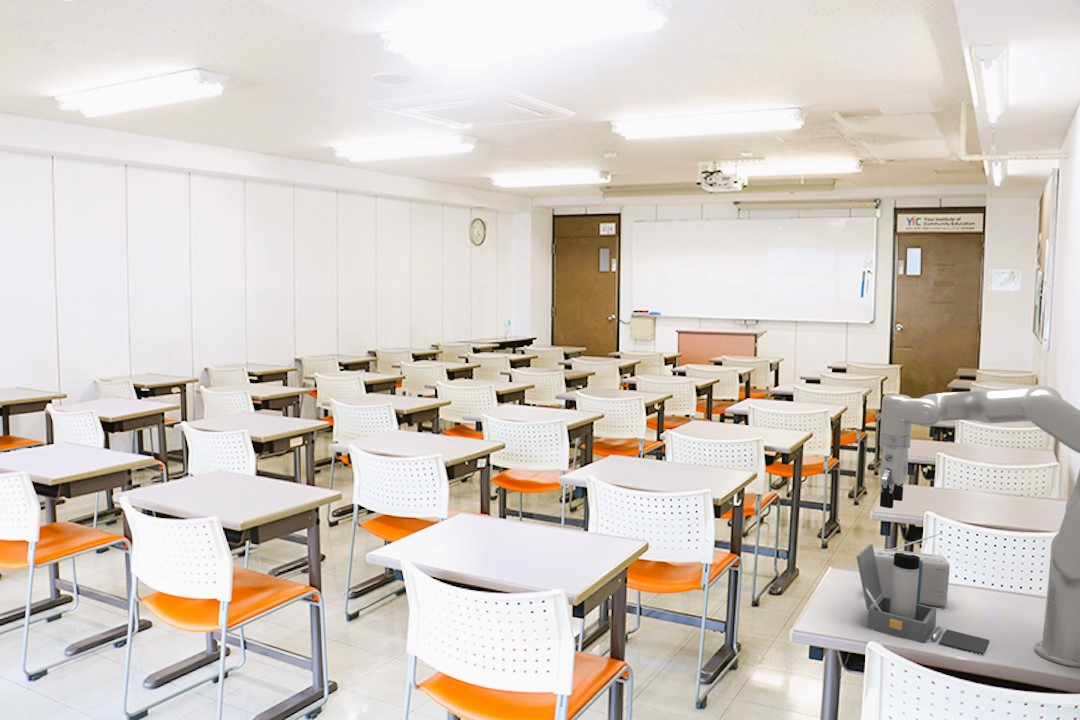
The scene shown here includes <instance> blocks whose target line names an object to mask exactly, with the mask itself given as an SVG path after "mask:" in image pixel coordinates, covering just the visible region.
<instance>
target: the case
mask: <svg viewBox="0 0 1080 720" xmlns="http://www.w3.org/2000/svg"><path fill="white" fill-rule="evenodd" d="M873 548H874V545H873V544H872V543H871V544H868V545H867V546H865V548H864V549H862V550H861V552H859V553H858V554H857V555H856V556H855V557H856V562H857V567H858V571H859V572H858V573H859V576H860V580H861V581H860V582H861V586H862V592H863V596H864V601H865V607H866V610H867V625H866V629H868V628H869V629H868V630H872V629H873V631H877V632H880V633H885V634H888V635H892V636H896V637H901V638H903V639H907V640H911V641H916V642H920V643H924V644H925V643H926V642H927V640H928V639H929V637H930V635H931V634H932V632H933V630H934V629H935V628H936V621H937V607H932V606H930V605H928V606H927V605H925V604H919V603H916V614H915V620H914V619H910V618H906V617H902V616H898V615H894V614H890V613H889V612H890V599H891V598H890V597H886V596H883V593H882V589H881V584H880V579H879V574H878V569H877V564H876V559H875V554H874V550H873Z"/></svg>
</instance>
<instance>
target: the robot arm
mask: <svg viewBox="0 0 1080 720" xmlns="http://www.w3.org/2000/svg"><path fill="white" fill-rule="evenodd" d="M880 417H881V418H880V429H879V430H880V432H879V446H880V447H882V452H881V453H882V454H881V460H880V461H881V462H880V472H879V474H880V476H879V477H880V483H881V485H880V497H879V507H881V508H887V509H893V508H894V501H897V502H902V501H903V498H904V497H903V496H904V483H906V481H908V478H909V477H908V475H909V474H908V470H909V468H908V467H909V451H908V449H911V438H912V435H911V434H912V425H916V426H920V427H928V428H929V427H932V426H936V425H937V424H939V423H940V422H945V421H946V422H947V421H948V422H949V421H975V422H976V421H977V422H980V423H983V424H1005V423H1017V422H1018V423H1021V422H1025V423H1026V422H1030V423H1032V424H1033V425H1035V426H1037V427H1038V428H1039V429H1040V430H1042V431H1043V432H1045V433H1047V434H1048V435H1049V436H1051V437H1052V438H1054V439H1055V440H1057V441H1058V442H1059V443H1061V444H1063V446H1064V445H1065V447H1068V448H1069V450H1070V449H1071V450H1072V451H1074V452H1076V453H1077V454H1080V409H1078V408H1077V407H1075V406H1074V405H1072V404H1071V403H1069V402H1068V401H1066V400H1065V399H1064V398H1062V396H1061V394H1060V392H1058V390H1056V389H1055V388H1053V387H1050V386H1049V385H1036V386H1035V385H1033V386H1022V387H1011V388H997V389H982V390H981V389H979V390H971V391H954V392H942V393H941V392H939V393H930V394H929V393H928V394H925V395H922V396H921V397H918V398H915V397H913V398H912V397H911V396H909V395H907V394H900V393H899V394H898V393H896V394H895V393H889V394H885V395H883V397H882V400H881V416H880ZM1071 491H1072V492H1071V494H1070V496H1069V498H1068V500H1067V502H1066V505H1065V513H1064V515H1063V518H1062V522H1061V525H1060V528H1059V530H1058V533H1057V534H1056V535H1055V536H1054V537H1053V539H1052V541H1051V545H1050V557H1049V558H1050V560H1049V570H1048V578H1047V579H1048V580H1047V581H1048V582H1047V590H1046V601H1045V612H1044V621H1043V632H1042V640H1039V641H1037V642H1035V644H1034V646H1033V647H1034V651H1035V652H1036V653H1037V654H1038V655H1039V656H1040V657H1042V658H1043V659H1046V660H1048V661H1051V662H1053V663H1057V664H1061V665H1063V666H1069V667H1075V668H1076V667H1077V668H1080V469H1079V471H1078V475H1077V477H1076V480H1075V483H1074V487H1073V489H1072V490H1071Z"/></svg>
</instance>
